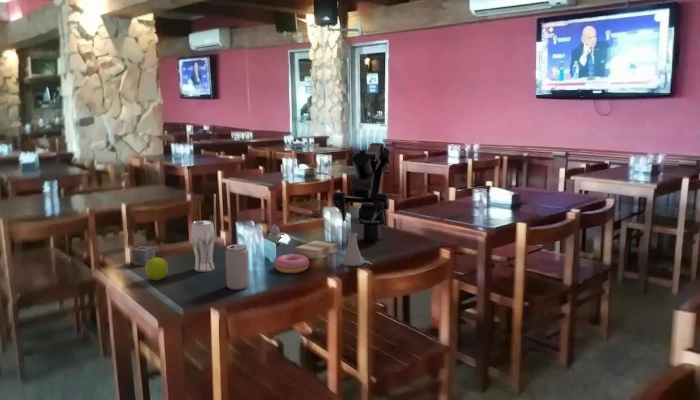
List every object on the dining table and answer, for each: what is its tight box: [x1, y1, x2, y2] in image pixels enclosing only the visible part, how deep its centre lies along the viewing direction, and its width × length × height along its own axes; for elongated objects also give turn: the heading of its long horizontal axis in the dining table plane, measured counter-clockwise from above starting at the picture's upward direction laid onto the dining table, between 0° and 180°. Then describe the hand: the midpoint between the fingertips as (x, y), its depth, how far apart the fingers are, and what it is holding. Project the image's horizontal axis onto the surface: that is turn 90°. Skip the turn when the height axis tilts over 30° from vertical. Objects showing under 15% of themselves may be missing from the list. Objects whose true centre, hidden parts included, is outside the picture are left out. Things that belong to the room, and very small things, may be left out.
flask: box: [341, 232, 364, 267], centre depth 191 cm, size 7×7×10 cm
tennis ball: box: [144, 257, 169, 281], centre depth 176 cm, size 7×7×7 cm
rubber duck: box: [267, 223, 285, 245], centre depth 216 cm, size 5×7×8 cm
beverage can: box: [224, 243, 250, 291], centre depth 168 cm, size 6×6×12 cm
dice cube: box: [131, 245, 156, 267], centre depth 193 cm, size 5×5×5 cm
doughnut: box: [273, 253, 310, 274], centre depth 186 cm, size 11×11×4 cm
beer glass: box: [190, 219, 215, 273], centre depth 185 cm, size 7×7×15 cm
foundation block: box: [295, 239, 339, 261], centre depth 203 cm, size 12×9×3 cm
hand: (357, 221), depth 196 cm, fingers open, 9 cm apart
